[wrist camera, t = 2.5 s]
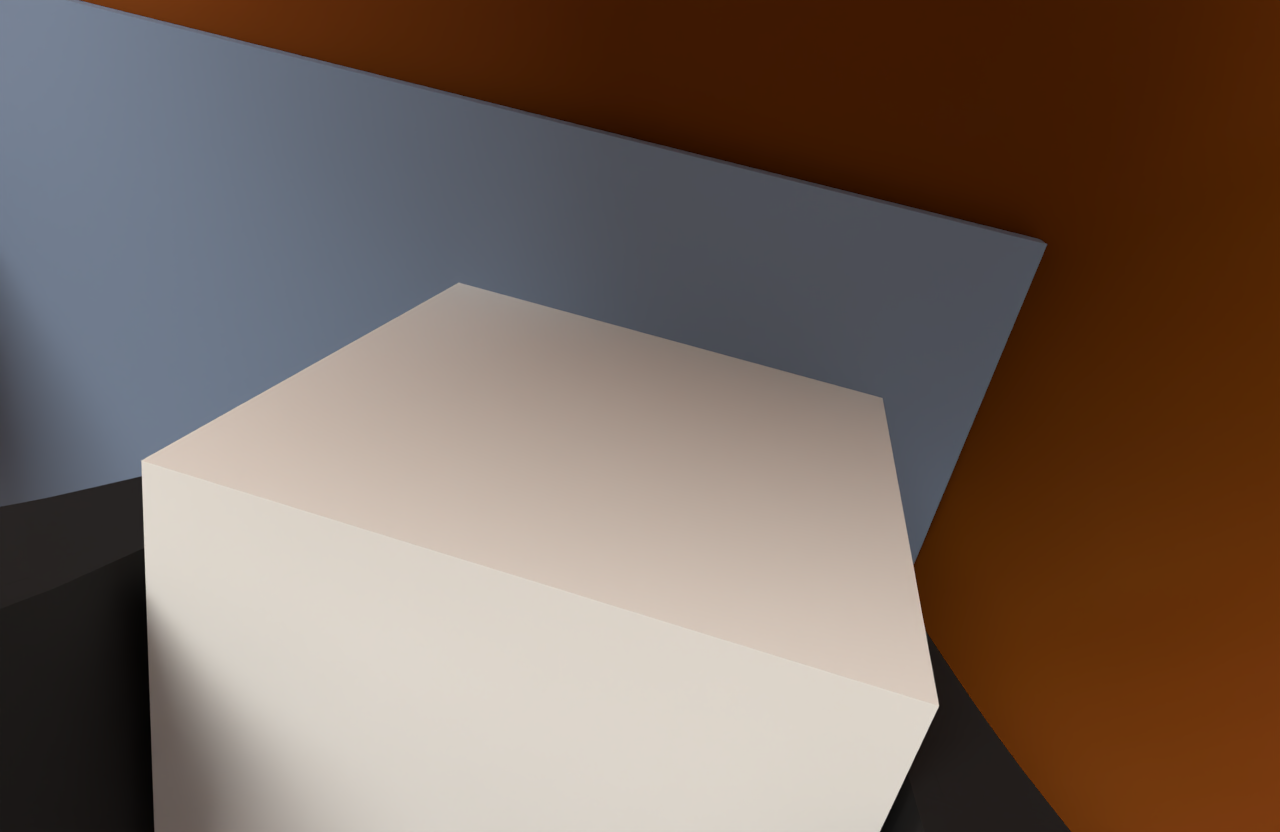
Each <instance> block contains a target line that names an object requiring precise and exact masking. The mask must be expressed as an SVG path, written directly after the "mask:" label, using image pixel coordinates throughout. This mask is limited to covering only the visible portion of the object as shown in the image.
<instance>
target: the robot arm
mask: <svg viewBox="0 0 1280 832" xmlns="http://www.w3.org/2000/svg"><path fill="white" fill-rule="evenodd" d="M925 632H926V631H925ZM926 637H927V643H928V648H929V654H930V659H931V665H932V670H933V676H934V681H935V686H936V692H937V697H938V703H939V707H938V709H937V711H936V714H935V716H934V718H933V720H932V722H931V724H930V726H929V728H928V731H927V733H926V735H925V737H924V739H923V741H922V743H921V745H920V748H919V750H918V752H917V754H916V756H915V758H914V760H913V762H912V765H911V767H910V769H909V771H908V773H907V775H906V777H905V779H904V782H903V784H902V786H901V788H900V790H899V792H898V794H897V796H896V799H895V801H894V803H893V805H892V807H891V809H890V811H889V813H888V816H887V818H886V820H885V822H884V824H883V826H882V828H881V830H880V832H1071V831H1070V830H1069V829H1068V827H1067V826H1066V825H1065V824H1064V822H1063V821H1062V820H1061V819H1060V817H1059V816H1058V815H1057V813H1056V812H1055V811H1054V810H1053V808H1052V807H1051V806H1050V805H1049V803H1048V802H1047V801H1046V799H1045V798H1044V797H1043V796H1042V794H1041V793H1040V792H1039V791H1038V789H1037V788H1036V787H1035V785H1034V784H1033V783H1032V782H1031V780H1030V779H1029V778H1028V777H1027V775H1026V774H1025V773H1024V771H1023V770H1022V769H1021V767H1020V766H1019V765H1018V763H1017V762H1016V761H1015V759H1014V758H1013V757H1012V755H1011V754H1010V753H1009V751H1008V750H1007V749H1006V747H1005V746H1004V745H1003V743H1002V742H1001V740H1000V739H999V738H998V736H997V735H996V734H995V732H994V731H993V729H992V728H991V727H990V725H989V724H988V722H987V721H986V720H985V718H984V717H983V715H982V714H981V712H980V711H979V710H978V708H977V707H976V705H975V704H974V702H973V701H972V700H971V698H970V697H969V695H968V694H967V692H966V691H965V689H964V688H963V686H962V685H961V683H960V682H959V680H958V679H957V678H956V676H955V675H954V673H953V672H952V670H951V669H950V667H949V666H948V664H947V663H946V661H945V660H944V658H943V656H942V655H941V653H940V652H939V650H938V649H937V647H936V646H935V644H934V643H933V641H932V640H931V638H930V637H929V635H928V634H927V632H926ZM0 832H154V806H153V777H152V749H151V721H150V692H149V664H148V635H147V607H146V579H145V550H144V522H143V494H142V476H140V477H136V478H132V479H127V480H123V481H119V482H114V483H110V484H106V485H101V486H97V487H92V488H88V489H84V490H79V491H75V492H71V493H66V494H62V495H58V496H53V497H48V498H43V499H38V500H33V501H28V502H23V503H18V504H12V505H7V506H1V507H0Z"/></svg>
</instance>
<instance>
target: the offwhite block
mask: <svg viewBox="0 0 1280 832" xmlns="http://www.w3.org/2000/svg"><path fill="white" fill-rule="evenodd" d="M141 465H142V494H143V522H144V550H145V579H146V607H147V635H148V664H149V692H150V721H151V749H152V777H153V806H154V832H880V830H881V828H882V826H883V824H884V822H885V820H886V818H887V816H888V813H889V811H890V809H891V807H892V805H893V803H894V801H895V799H896V796H897V794H898V792H899V790H900V788H901V786H902V784H903V782H904V779H905V777H906V775H907V773H908V771H909V769H910V767H911V765H912V762H913V760H914V758H915V756H916V754H917V752H918V750H919V748H920V745H921V743H922V741H923V739H924V737H925V735H926V733H927V731H928V728H929V726H930V724H931V722H932V720H933V718H934V716H935V714H936V711H937V709H938V707H939V703H938V697H937V692H936V686H935V681H934V676H933V670H932V665H931V659H930V654H929V648H928V643H927V637H926V632H925V626H924V621H923V616H922V610H921V605H920V599H919V594H918V588H917V583H916V577H915V572H914V567H913V561H912V556H911V550H910V545H909V539H908V534H907V528H906V523H905V518H904V512H903V507H902V501H901V496H900V490H899V485H898V479H897V474H896V468H895V463H894V458H893V452H892V447H891V441H890V436H889V430H888V425H887V419H886V414H885V409H884V403H883V398H881V397H877V396H873V395H870V394H866V393H862V392H859V391H855V390H851V389H848V388H844V387H840V386H837V385H833V384H829V383H826V382H822V381H818V380H815V379H811V378H807V377H804V376H800V375H796V374H793V373H789V372H785V371H782V370H778V369H774V368H771V367H767V366H763V365H760V364H756V363H752V362H749V361H745V360H741V359H738V358H734V357H730V356H727V355H723V354H719V353H716V352H712V351H708V350H705V349H701V348H697V347H694V346H690V345H686V344H682V343H679V342H675V341H671V340H668V339H664V338H660V337H657V336H653V335H649V334H646V333H642V332H638V331H635V330H631V329H627V328H624V327H620V326H616V325H613V324H609V323H605V322H602V321H598V320H594V319H591V318H587V317H583V316H580V315H576V314H572V313H569V312H565V311H561V310H558V309H554V308H550V307H547V306H543V305H539V304H536V303H532V302H528V301H525V300H521V299H517V298H514V297H510V296H506V295H503V294H499V293H495V292H492V291H488V290H484V289H481V288H477V287H473V286H470V285H466V284H462V283H457V284H455V285H454V286H452V287H450V288H448V289H446V290H445V291H443V292H441V293H439V294H437V295H436V296H434V297H432V298H430V299H429V300H427V301H425V302H423V303H421V304H420V305H418V306H416V307H414V308H412V309H411V310H409V311H407V312H405V313H404V314H402V315H400V316H398V317H396V318H395V319H393V320H391V321H389V322H388V323H386V324H384V325H382V326H380V327H379V328H377V329H375V330H373V331H371V332H370V333H368V334H366V335H364V336H363V337H361V338H359V339H357V340H355V341H354V342H352V343H350V344H348V345H346V346H345V347H343V348H341V349H339V350H338V351H336V352H334V353H332V354H330V355H329V356H327V357H325V358H323V359H321V360H320V361H318V362H316V363H314V364H313V365H311V366H309V367H307V368H305V369H304V370H302V371H300V372H298V373H297V374H295V375H293V376H291V377H289V378H288V379H286V380H284V381H282V382H280V383H279V384H277V385H275V386H273V387H272V388H270V389H268V390H266V391H264V392H263V393H261V394H259V395H257V396H255V397H254V398H252V399H250V400H248V401H247V402H245V403H243V404H241V405H239V406H238V407H236V408H234V409H232V410H231V411H229V412H227V413H225V414H223V415H222V416H220V417H218V418H216V419H214V420H213V421H211V422H209V423H207V424H206V425H204V426H202V427H200V428H198V429H197V430H195V431H193V432H191V433H189V434H188V435H186V436H184V437H182V438H181V439H179V440H177V441H175V442H173V443H172V444H170V445H168V446H166V447H165V448H163V449H161V450H159V451H157V452H156V453H154V454H152V455H150V456H148V457H147V458H145V459H143V460H141Z"/></svg>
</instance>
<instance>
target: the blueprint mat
mask: <svg viewBox="0 0 1280 832" xmlns="http://www.w3.org/2000/svg"><path fill="white" fill-rule="evenodd" d="M1046 246H1047V244H1046V243H1045V242H1043V241H1042V240H1041V239H1037V238H1033V237H1029V236H1025V235H1021V234H1017V233H1013V232H1009V231H1005V230H1001V229H997V228H993V227H989V226H985V225H981V224H977V223H973V222H969V221H965V220H961V219H957V218H953V217H949V216H945V215H941V214H937V213H933V212H929V211H925V210H921V209H917V208H913V207H909V206H905V205H901V204H897V203H893V202H889V201H885V200H880V199H876V198H872V197H868V196H864V195H860V194H856V193H852V192H848V191H844V190H840V189H836V188H832V187H828V186H824V185H820V184H816V183H812V182H808V181H804V180H800V179H796V178H792V177H788V176H784V175H780V174H776V173H772V172H768V171H764V170H760V169H756V168H752V167H748V166H744V165H740V164H736V163H732V162H728V161H723V160H719V159H715V158H711V157H707V156H703V155H699V154H695V153H691V152H687V151H683V150H679V149H675V148H671V147H667V146H663V145H659V144H655V143H651V142H647V141H643V140H639V139H635V138H631V137H627V136H623V135H619V134H615V133H611V132H607V131H603V130H599V129H595V128H591V127H587V126H583V125H579V124H575V123H571V122H566V121H562V120H558V119H554V118H550V117H546V116H542V115H538V114H534V113H530V112H526V111H522V110H518V109H514V108H510V107H506V106H502V105H498V104H494V103H490V102H486V101H482V100H478V99H474V98H470V97H466V96H462V95H458V94H454V93H450V92H446V91H442V90H438V89H434V88H430V87H426V86H422V85H418V84H414V83H409V82H405V81H401V80H397V79H393V78H389V77H385V76H381V75H377V74H373V73H369V72H365V71H361V70H357V69H353V68H349V67H345V66H341V65H337V64H333V63H329V62H325V61H321V60H317V59H313V58H309V57H305V56H301V55H297V54H293V53H289V52H285V51H281V50H277V49H273V48H269V47H265V46H261V45H257V44H252V43H248V42H244V41H240V40H236V39H232V38H228V37H224V36H220V35H216V34H212V33H208V32H204V31H200V30H196V29H192V28H188V27H184V26H180V25H176V24H172V23H168V22H164V21H160V20H156V19H152V18H148V17H144V16H140V15H136V14H132V13H128V12H124V11H120V10H116V9H112V8H108V7H104V6H100V5H95V4H91V3H87V2H83V1H79V0H0V507H1V506H7V505H12V504H18V503H23V502H28V501H33V500H38V499H43V498H48V497H53V496H58V495H62V494H66V493H71V492H75V491H79V490H84V489H88V488H92V487H97V486H101V485H106V484H110V483H114V482H119V481H123V480H127V479H132V478H136V477H140V476H142V465H141V460H143V459H145V458H147V457H148V456H150V455H152V454H154V453H156V452H157V451H159V450H161V449H163V448H165V447H166V446H168V445H170V444H172V443H173V442H175V441H177V440H179V439H181V438H182V437H184V436H186V435H188V434H189V433H191V432H193V431H195V430H197V429H198V428H200V427H202V426H204V425H206V424H207V423H209V422H211V421H213V420H214V419H216V418H218V417H220V416H222V415H223V414H225V413H227V412H229V411H231V410H232V409H234V408H236V407H238V406H239V405H241V404H243V403H245V402H247V401H248V400H250V399H252V398H254V397H255V396H257V395H259V394H261V393H263V392H264V391H266V390H268V389H270V388H272V387H273V386H275V385H277V384H279V383H280V382H282V381H284V380H286V379H288V378H289V377H291V376H293V375H295V374H297V373H298V372H300V371H302V370H304V369H305V368H307V367H309V366H311V365H313V364H314V363H316V362H318V361H320V360H321V359H323V358H325V357H327V356H329V355H330V354H332V353H334V352H336V351H338V350H339V349H341V348H343V347H345V346H346V345H348V344H350V343H352V342H354V341H355V340H357V339H359V338H361V337H363V336H364V335H366V334H368V333H370V332H371V331H373V330H375V329H377V328H379V327H380V326H382V325H384V324H386V323H388V322H389V321H391V320H393V319H395V318H396V317H398V316H400V315H402V314H404V313H405V312H407V311H409V310H411V309H412V308H414V307H416V306H418V305H420V304H421V303H423V302H425V301H427V300H429V299H430V298H432V297H434V296H436V295H437V294H439V293H441V292H443V291H445V290H446V289H448V288H450V287H452V286H454V285H455V284H457V283H462V284H466V285H470V286H473V287H477V288H481V289H484V290H488V291H492V292H495V293H499V294H503V295H506V296H510V297H514V298H517V299H521V300H525V301H528V302H532V303H536V304H539V305H543V306H547V307H550V308H554V309H558V310H561V311H565V312H569V313H572V314H576V315H580V316H583V317H587V318H591V319H594V320H598V321H602V322H605V323H609V324H613V325H616V326H620V327H624V328H627V329H631V330H635V331H638V332H642V333H646V334H649V335H653V336H657V337H660V338H664V339H668V340H671V341H675V342H679V343H682V344H686V345H690V346H694V347H697V348H701V349H705V350H708V351H712V352H716V353H719V354H723V355H727V356H730V357H734V358H738V359H741V360H745V361H749V362H752V363H756V364H760V365H763V366H767V367H771V368H774V369H778V370H782V371H785V372H789V373H793V374H796V375H800V376H804V377H807V378H811V379H815V380H818V381H822V382H826V383H829V384H833V385H837V386H840V387H844V388H848V389H851V390H855V391H859V392H862V393H866V394H870V395H873V396H877V397H881V398H883V403H884V409H885V414H886V419H887V425H888V430H889V436H890V441H891V447H892V452H893V458H894V463H895V468H896V474H897V479H898V485H899V490H900V496H901V501H902V507H903V512H904V518H905V523H906V528H907V534H908V539H909V545H910V550H911V556H912V561H913V565H914V563H915V560H916V558H917V556H918V553H919V551H920V548H921V546H922V544H923V541H924V539H925V536H926V534H927V532H928V529H929V527H930V524H931V522H932V520H933V517H934V515H935V512H936V510H937V508H938V505H939V503H940V500H941V498H942V496H943V493H944V491H945V488H946V486H947V484H948V481H949V479H950V476H951V474H952V472H953V469H954V467H955V464H956V462H957V460H958V457H959V455H960V452H961V450H962V448H963V445H964V443H965V440H966V438H967V436H968V433H969V431H970V428H971V426H972V424H973V421H974V419H975V416H976V414H977V412H978V409H979V407H980V404H981V402H982V400H983V397H984V395H985V392H986V390H987V388H988V385H989V383H990V380H991V378H992V376H993V373H994V371H995V368H996V366H997V364H998V361H999V359H1000V356H1001V354H1002V352H1003V349H1004V347H1005V344H1006V342H1007V340H1008V337H1009V335H1010V332H1011V330H1012V328H1013V325H1014V323H1015V320H1016V318H1017V316H1018V313H1019V311H1020V308H1021V306H1022V304H1023V301H1024V299H1025V296H1026V294H1027V292H1028V289H1029V287H1030V284H1031V282H1032V280H1033V277H1034V275H1035V272H1036V270H1037V268H1038V265H1039V263H1040V260H1041V258H1042V256H1043V253H1044V251H1045V248H1046Z"/></svg>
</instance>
